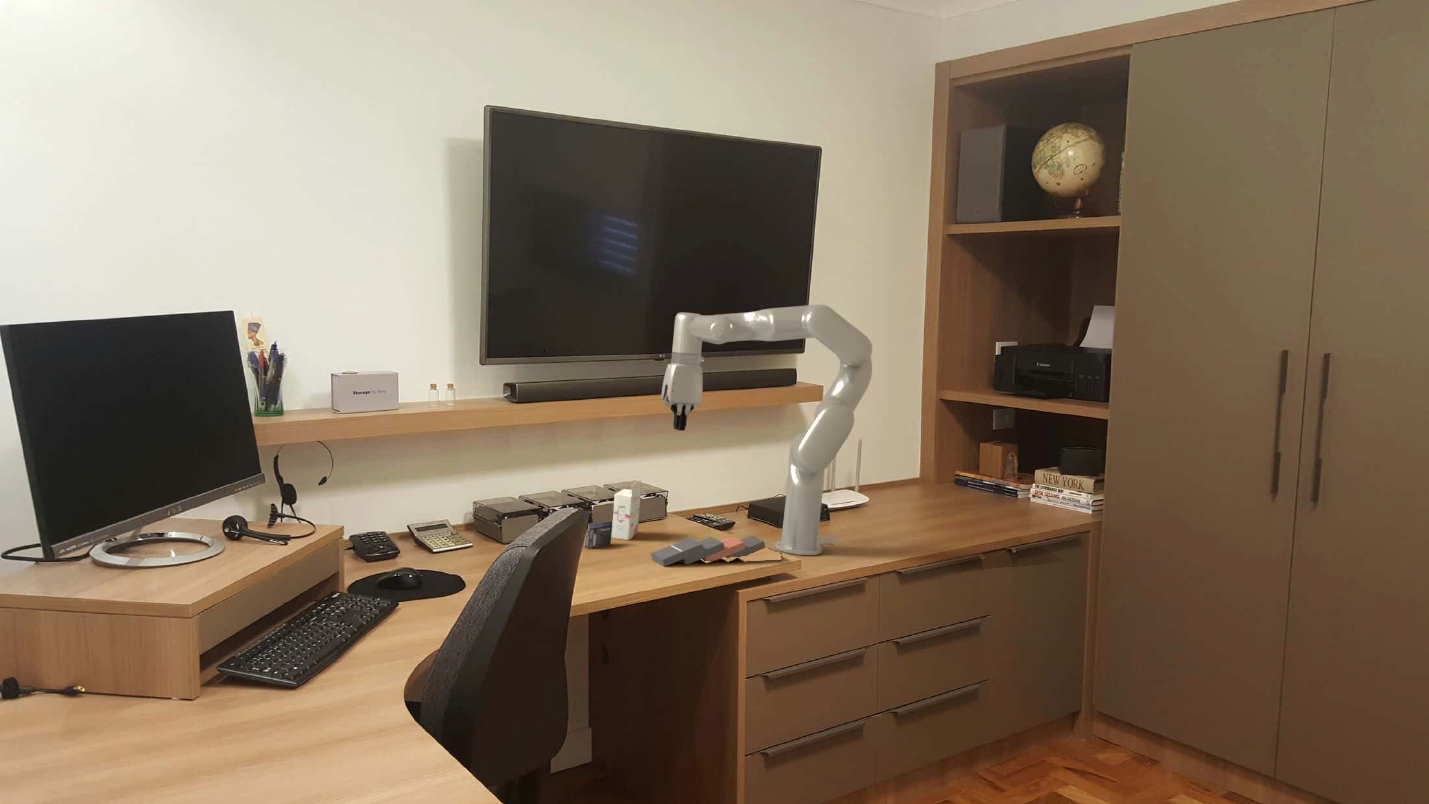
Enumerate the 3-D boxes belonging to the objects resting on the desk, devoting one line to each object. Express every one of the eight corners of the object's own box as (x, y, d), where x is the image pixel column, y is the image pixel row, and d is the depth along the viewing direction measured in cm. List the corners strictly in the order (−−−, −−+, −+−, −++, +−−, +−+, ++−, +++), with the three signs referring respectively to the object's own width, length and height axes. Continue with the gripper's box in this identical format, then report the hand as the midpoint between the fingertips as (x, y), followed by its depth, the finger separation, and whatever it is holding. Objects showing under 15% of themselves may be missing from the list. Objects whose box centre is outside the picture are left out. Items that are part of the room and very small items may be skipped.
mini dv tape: (587, 549, 248) (589, 525, 248) (583, 547, 249) (585, 523, 248) (610, 544, 255) (612, 521, 254) (606, 543, 256) (608, 520, 255)
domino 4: (716, 556, 253) (753, 541, 257) (727, 563, 247) (765, 547, 252) (714, 549, 252) (751, 535, 257) (726, 556, 247) (764, 540, 252)
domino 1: (652, 560, 243) (691, 544, 248) (664, 566, 238) (703, 550, 243) (650, 552, 243) (689, 537, 248) (662, 559, 238) (702, 543, 243)
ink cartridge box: (619, 531, 270) (624, 477, 268) (637, 534, 269) (642, 479, 267) (610, 538, 261) (615, 482, 260) (628, 540, 260) (633, 484, 259)
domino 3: (695, 557, 250) (732, 542, 254) (706, 564, 244) (745, 549, 249) (693, 550, 249) (731, 536, 254) (705, 557, 244) (743, 541, 249)
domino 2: (674, 558, 247) (712, 543, 252) (685, 565, 241) (724, 549, 246) (672, 551, 246) (711, 536, 251) (684, 558, 241) (723, 542, 246)
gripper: (703, 360, 270) (696, 428, 272) (653, 357, 262) (647, 427, 264) (717, 363, 264) (710, 432, 266) (667, 360, 256) (660, 431, 258)
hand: (679, 429), depth 265 cm, fingers closed
